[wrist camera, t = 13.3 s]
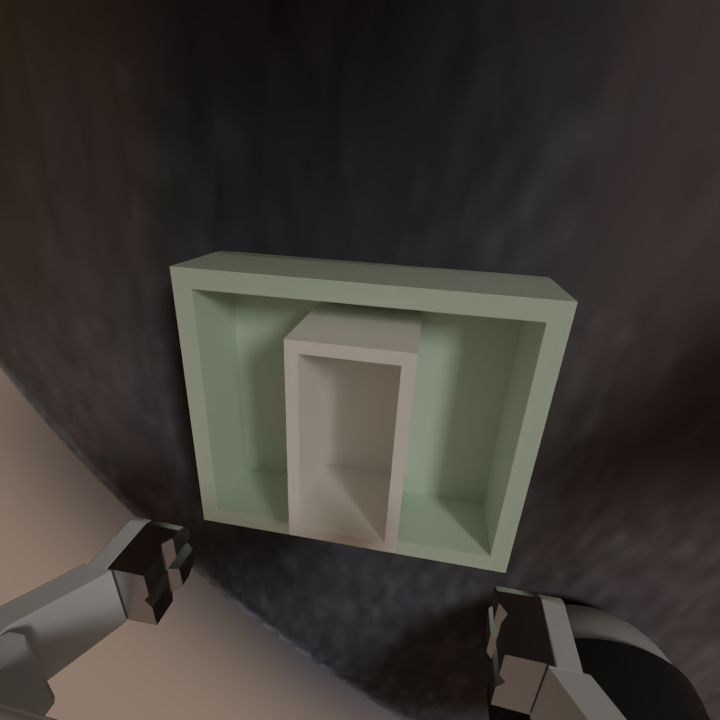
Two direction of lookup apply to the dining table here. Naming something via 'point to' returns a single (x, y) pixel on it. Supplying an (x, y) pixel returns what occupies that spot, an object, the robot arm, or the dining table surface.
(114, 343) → the dining table surface
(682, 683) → the pump dispenser
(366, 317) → the small tote
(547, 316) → the box
